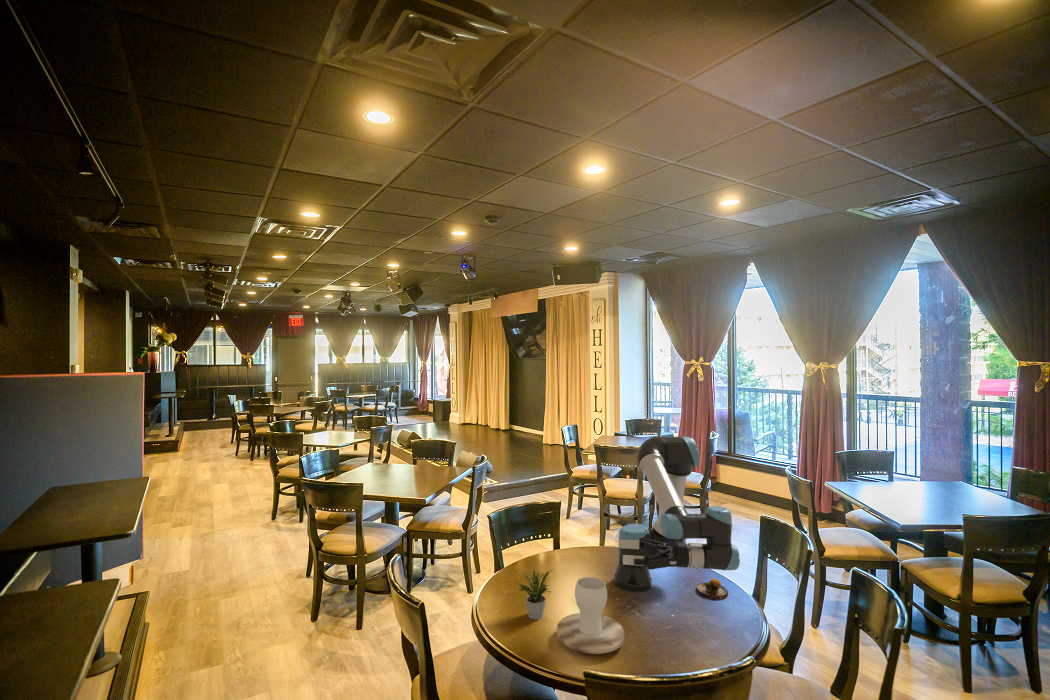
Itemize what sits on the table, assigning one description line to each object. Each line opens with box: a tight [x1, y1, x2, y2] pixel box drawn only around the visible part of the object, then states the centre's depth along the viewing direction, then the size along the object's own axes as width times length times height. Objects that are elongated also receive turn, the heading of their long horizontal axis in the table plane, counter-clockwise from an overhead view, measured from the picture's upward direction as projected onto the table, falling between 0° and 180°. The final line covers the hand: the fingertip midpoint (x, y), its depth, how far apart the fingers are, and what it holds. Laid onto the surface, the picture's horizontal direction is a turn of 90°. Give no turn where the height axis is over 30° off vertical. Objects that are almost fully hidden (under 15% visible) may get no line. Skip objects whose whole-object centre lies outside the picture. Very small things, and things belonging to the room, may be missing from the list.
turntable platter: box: [556, 612, 625, 655], centre depth 166 cm, size 22×22×2 cm
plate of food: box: [696, 575, 729, 601], centre depth 202 cm, size 12×12×8 cm
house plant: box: [514, 566, 553, 621], centre depth 183 cm, size 14×14×16 cm
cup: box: [574, 576, 608, 635], centre depth 167 cm, size 11×11×15 cm
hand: (621, 551), depth 166 cm, fingers open, 13 cm apart
